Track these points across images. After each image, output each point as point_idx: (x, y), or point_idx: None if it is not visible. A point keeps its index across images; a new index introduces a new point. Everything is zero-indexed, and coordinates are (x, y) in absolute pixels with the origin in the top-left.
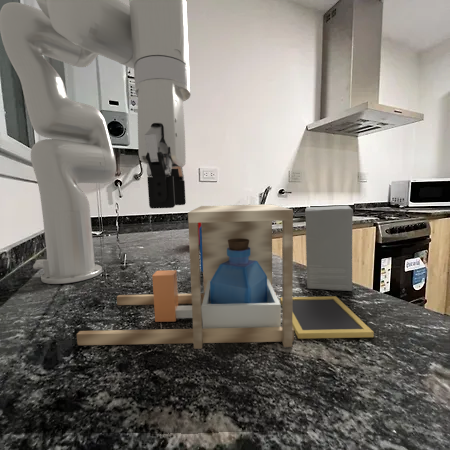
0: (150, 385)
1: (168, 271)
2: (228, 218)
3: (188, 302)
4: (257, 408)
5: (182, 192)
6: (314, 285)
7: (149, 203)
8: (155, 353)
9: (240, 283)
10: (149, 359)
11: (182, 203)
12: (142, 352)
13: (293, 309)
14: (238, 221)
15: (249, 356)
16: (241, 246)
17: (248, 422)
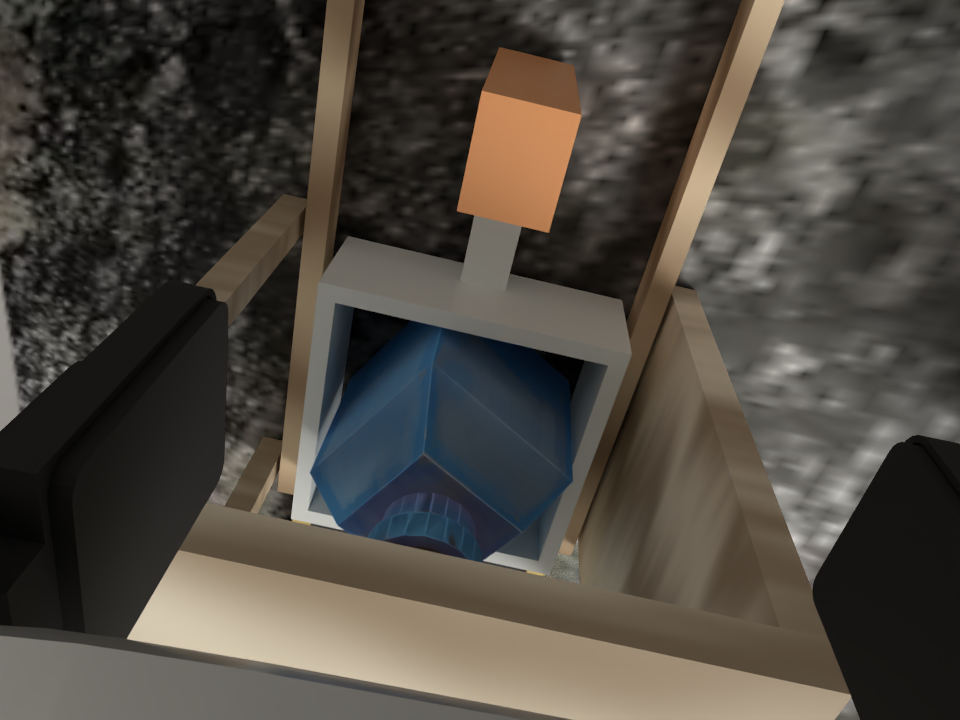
0: (114, 49)
1: (537, 187)
2: None
3: (668, 212)
4: (48, 302)
5: (859, 692)
6: None
7: (153, 294)
8: (273, 57)
9: (336, 464)
10: (240, 36)
11: (817, 581)
12: (284, 4)
13: None
14: None
15: (230, 341)
16: None
17: (11, 274)
